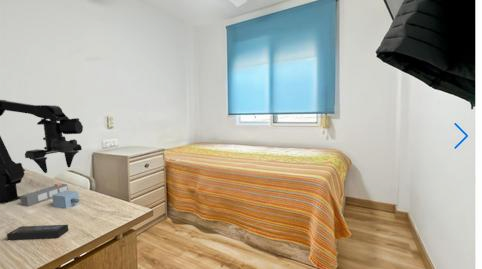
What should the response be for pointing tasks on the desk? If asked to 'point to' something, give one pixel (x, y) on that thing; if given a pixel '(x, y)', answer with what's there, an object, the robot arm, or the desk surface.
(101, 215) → the desk surface
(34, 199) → the power strip
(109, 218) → the desk surface
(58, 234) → the multiport hub
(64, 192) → the slate plug
